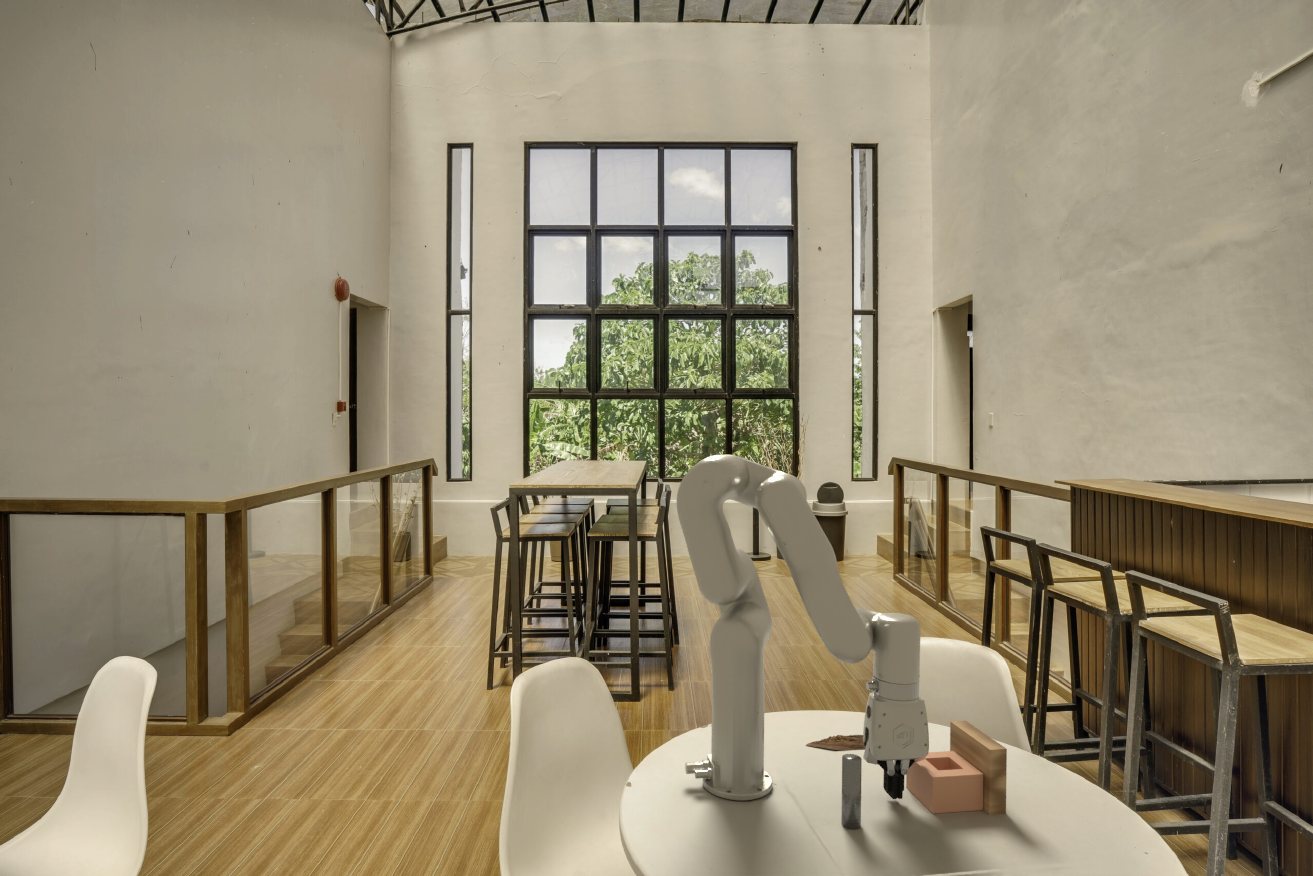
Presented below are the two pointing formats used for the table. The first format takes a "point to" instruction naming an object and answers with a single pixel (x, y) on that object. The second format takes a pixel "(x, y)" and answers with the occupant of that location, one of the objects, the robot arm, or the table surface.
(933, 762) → the block
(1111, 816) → the table surface
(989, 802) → the block
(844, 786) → the dowel
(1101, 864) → the table surface
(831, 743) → the wooden fragment
